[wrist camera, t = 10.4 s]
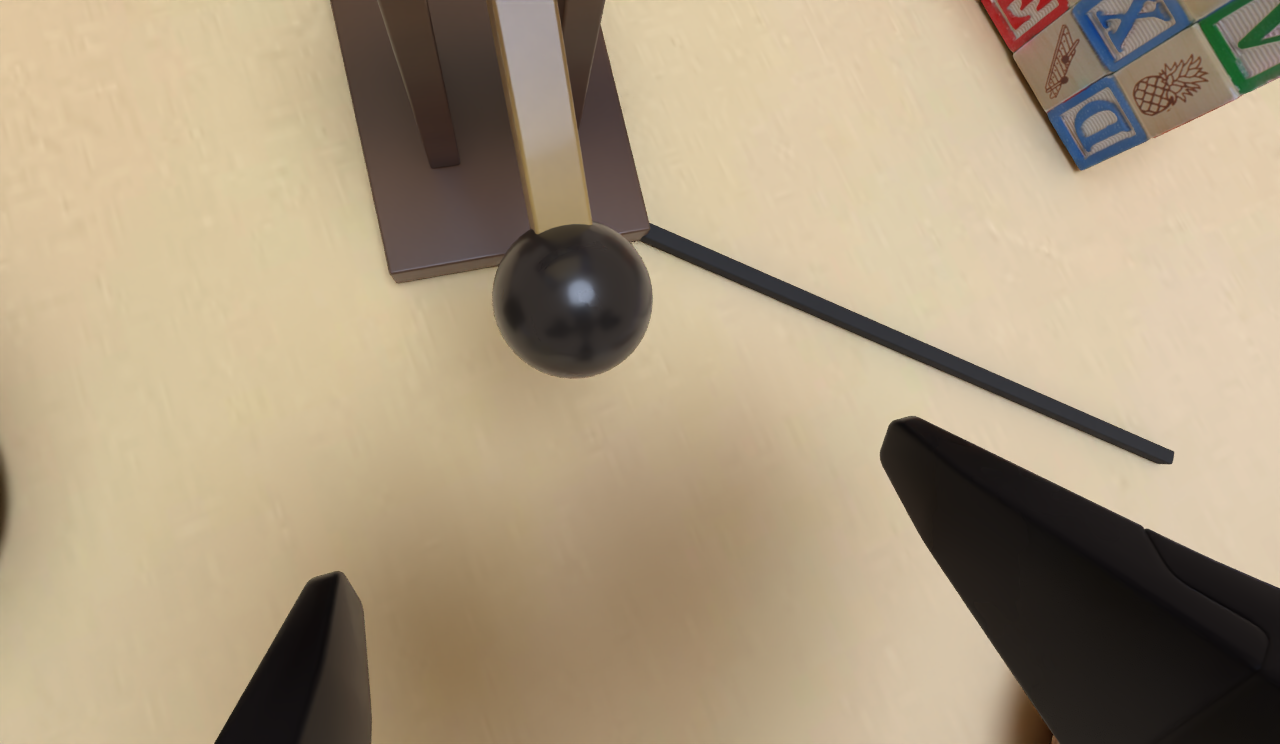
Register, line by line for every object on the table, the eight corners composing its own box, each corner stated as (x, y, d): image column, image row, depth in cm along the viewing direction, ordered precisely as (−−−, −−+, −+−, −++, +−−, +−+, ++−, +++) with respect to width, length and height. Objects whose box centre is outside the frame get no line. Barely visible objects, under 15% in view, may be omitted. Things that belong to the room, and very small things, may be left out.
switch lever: (638, 339, 15) (683, 379, 12) (505, 368, 14) (517, 418, 11) (534, -392, 10) (563, -623, 7) (332, -405, 9) (276, -666, 7)
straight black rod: (1160, 451, 26) (1175, 451, 26) (1158, 464, 26) (1172, 464, 26) (642, 226, 23) (646, 220, 22) (637, 240, 23) (640, 235, 22)
